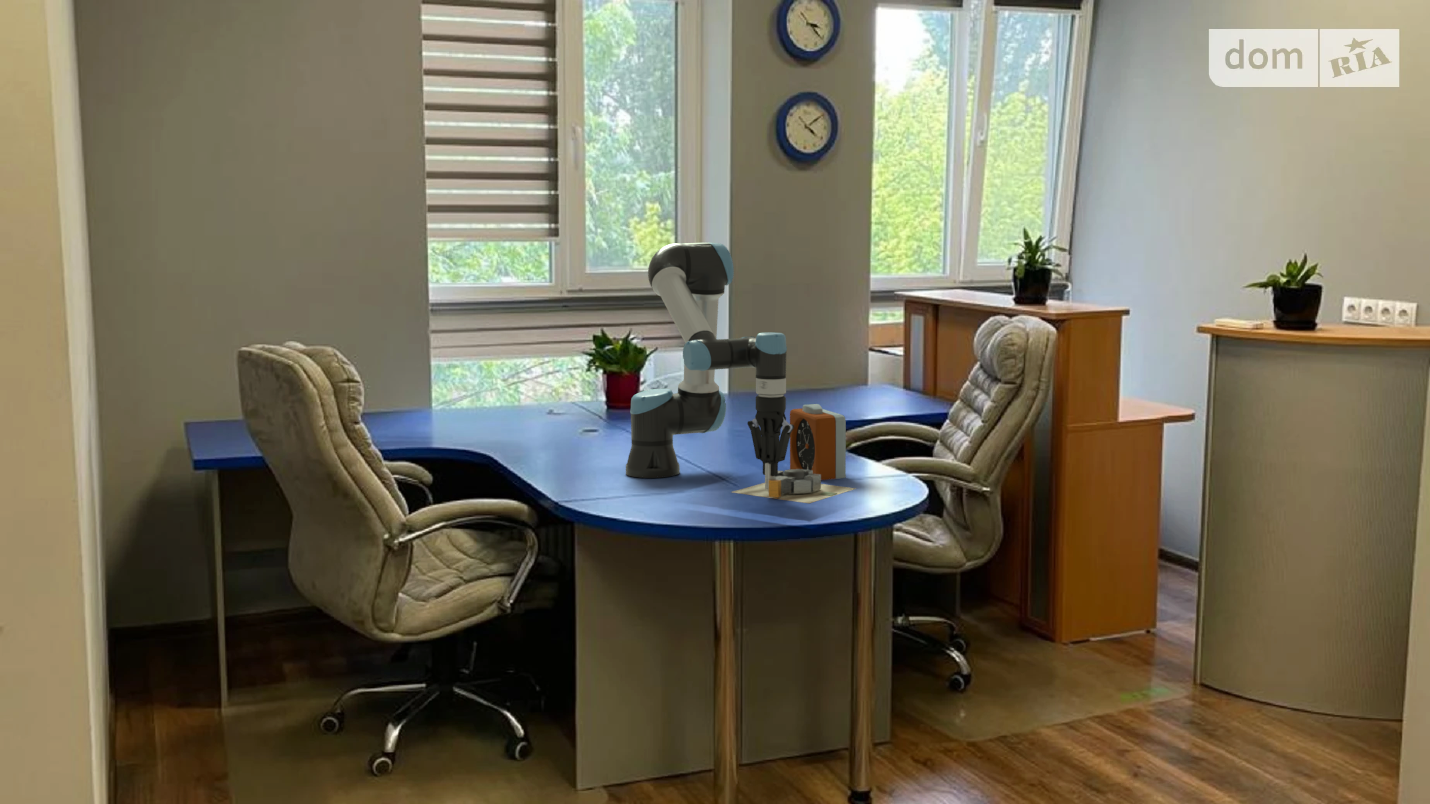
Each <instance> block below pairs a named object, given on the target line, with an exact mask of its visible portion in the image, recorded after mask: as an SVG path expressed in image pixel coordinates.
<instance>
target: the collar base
mask: <svg viewBox="0 0 1430 804" xmlns="http://www.w3.org/2000/svg"><path fill="white" fill-rule="evenodd" d="M783 471H784V476H787V477H795V480H802V479H804V471H803V470H798V469H790V468H789V469H785V470H783ZM854 490H857V488H856V487H849V486H847V487H846V486H840V485H833V484H827V483H826V484H825V483H821V489H820V490H817V491H815V492H811V493H799V494H793V493H792V494H788V493H787V494H785V495H782V496H781V497H778V498H777V497H769V489H765V482H762V483H758V484H755V485H752V486H751V485H750V486H748V487H744V488H741V489H738V490H733V491H731V493H733V494H734V493H735V494H741V495H748V496H754V497H760V498H768V499H769V498H770V499H777V500H783V501H789V502H796V503H804V504H812V503H816V502H819V501H822V500H825V499H827V498H832V497H835V496H838V495H841V494H844V493H847V492H850V491H854Z"/></svg>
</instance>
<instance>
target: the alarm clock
mask: <svg viewBox="0 0 1430 804" xmlns="http://www.w3.org/2000/svg"><path fill="white" fill-rule="evenodd" d="M789 424H790V425H791V424H793V425H794V429H793V430H792V432H791V434H790V439H789V469H804V470H813V474H821V481H827V480H838V479H845V478H846V477H847V476H846V475H847V473H846V467H847V466H846V465H847V463H846V459H847V458H846V456H847V455H846V453H847V452H846V448H847V447H846V444H847V443H846V441H847V439H846V436H847V432H846V431H847V430H846V427H847V425H846V417H845V416H844V415H843V414H841V413H838V412H834V411H831V410H828V409H824V408H823V407H822V406H821V404H819V403H815V404H814V403H812V404H803V405H802V408H801V407H800V408H793V409H791V410H790V412H789Z"/></svg>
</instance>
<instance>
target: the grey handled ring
mask: <svg viewBox="0 0 1430 804" xmlns="http://www.w3.org/2000/svg"><path fill="white" fill-rule="evenodd" d="M798 470H803V471H804V479H802V480H795V477H787V476H784V471H785V470H778V474H777V476H775V479H771V480H769V497H777V498H778V497H781V496H782V495H785V494H787V493H788V494H792V493H793V494H799V493H811V492H815V491H817V490H820V489H821V484H822V480H821V474H813V470H804V469H798Z"/></svg>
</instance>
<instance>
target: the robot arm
mask: <svg viewBox="0 0 1430 804" xmlns="http://www.w3.org/2000/svg"><path fill="white" fill-rule="evenodd" d="M647 270H648V271H647V276H648V277H647V279H648V282H649V285H650V287H651V289H652V291H653V293H655V294H656V295H657V296H659V297H660V298H661V300H662V301H663V304H664V305H665V307H666V309H667V311H668V314H669V315H670V317H671V319H672V321H673V322H674V325H675V326H676V329H677V330H678V332H679V334H680V336H681V338H682V340H683V342H684V346H683V349H682V359H683V363H684V365H683V367H684V370H683V371H684V372H683V380H681V382H680V383H678V384H677V392H676V393H675V392H673V391H672V390H673V389H670V388H654V389H647V390H643V391H640V392H638V393H636V394H634V395H633V396H632V397H631V400H630V409H629V410H630V411H629V412H630V413H629V414H630V425H631V426H630V427H631V428H630V436H631V438H630V440H631V447H630V450H629V454H628V458H627V462H626V464H625V475H627V476H629V477H634V478H640V479H641V478H642V479H643V478H644V479H653V478H654V479H656V478H660V479H661V478H668V477H673V476H677V475H679V474H680V472H681V470H680V469H681V468H680V467H681V466H680V464H679V461H678V458H677V454H676V450H675V448H674V440H673V439H674V435H687V434H688V435H689V434H706V433H709V432H716V431H717V430H719V428H720V427H721V426H722V425H723V423H724V421H725V417H726V414H727V413H726V412H727V403H726V396H725V395H724V393H723V392H722V391H721V390H720V386H719V385H718V384H717V383H716V382H715V373H716V370H727V369H728V370H729V369H743V368H746V369H747V368H751V369H753V368H754V369H755V393H756V396H755V410H756V414H755V416H754V417H755V418H753V419H752V420H748V421H747V425H748V428H749V430H750V434H751V438H752V445H753V450H754V454H755V458H756V460H760V461H761V462H762V475H763V476H764V483H765V489H769V480H771V479H775V476H777V474H778V471H779V462H780V463H781V462H784V461H785V460H786V455H787V451H788V446H789V444H790V434H791V432H792V430H793V429H794V425H793V424H791V425H790V422H788V421H787V417H786V413H785V412H786V408H787V406H786V405H787V402H786V401H787V397H786V396H785V395H786V394H787V377H786V376H787V351H788V346H787V338H786V334H784V333H782V332H774V331H773V332H770V331H769V332H768V331H767V332H765V331H763V332H759V333H757V335H756V336H752V335H751V336H742V337H740V338H738V337H737V338H720V339H719V338H718V337H717V335H718V316H719V315H718V314H719V299H720V298H721V296H723V295H724V294H725V288H726V286H729V285H730V284H731V283H732V282H733V279H734V274H735V273H734V272H735V271H734V262H733V258H732V256H731V253H730V251H729V249H728V247H726V245H724V244H723V243H720V242H708V241H706V242H705V241H704V242H686V243H685V242H684V243H683V242H681V243H679V242H677V243H675V242H674V243H669V244H667V245H664V246H662V247H660V248H659V249H658V250H657V251H656V252H655V254H653V256H652V258H651V260H650V262H649V265H648V269H647Z"/></svg>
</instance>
